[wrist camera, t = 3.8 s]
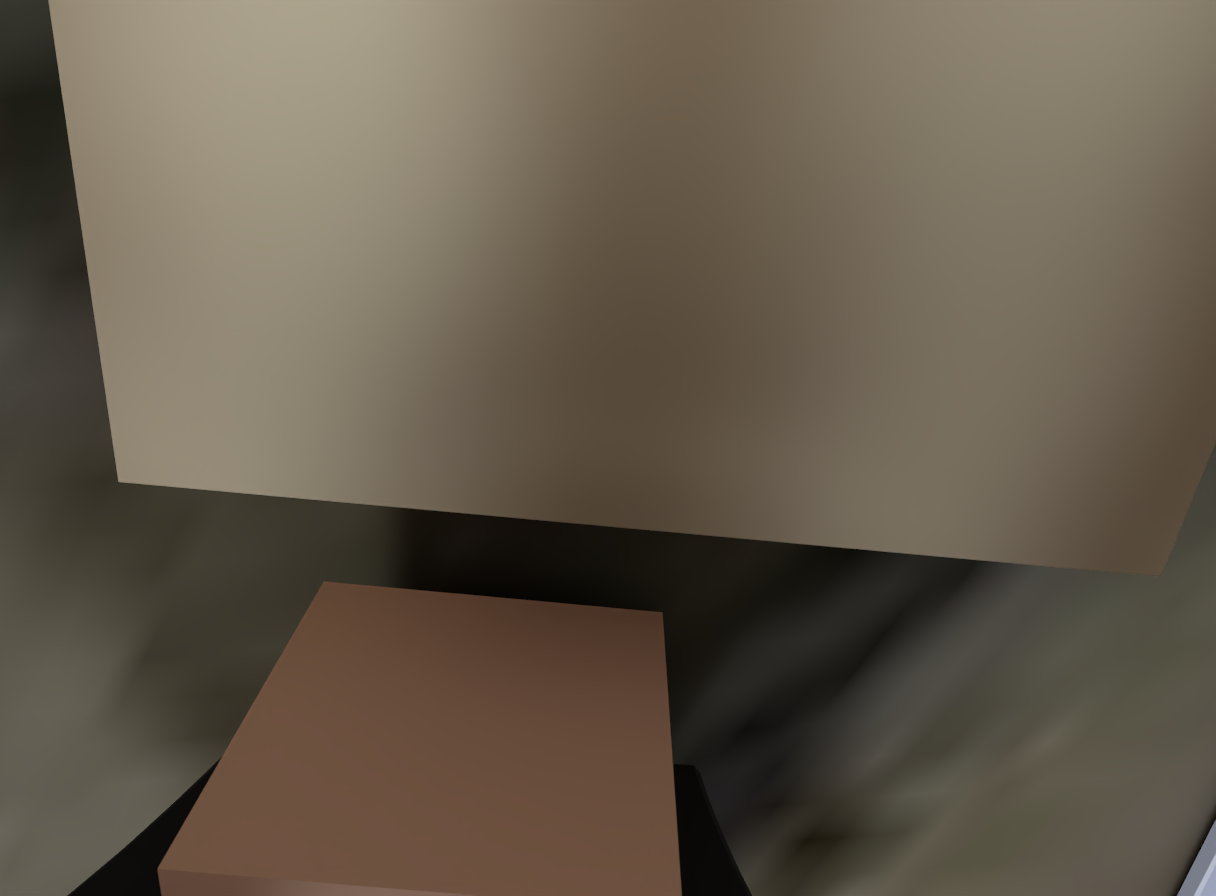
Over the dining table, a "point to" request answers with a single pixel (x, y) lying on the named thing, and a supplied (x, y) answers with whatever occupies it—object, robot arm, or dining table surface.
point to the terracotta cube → (445, 756)
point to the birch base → (664, 261)
